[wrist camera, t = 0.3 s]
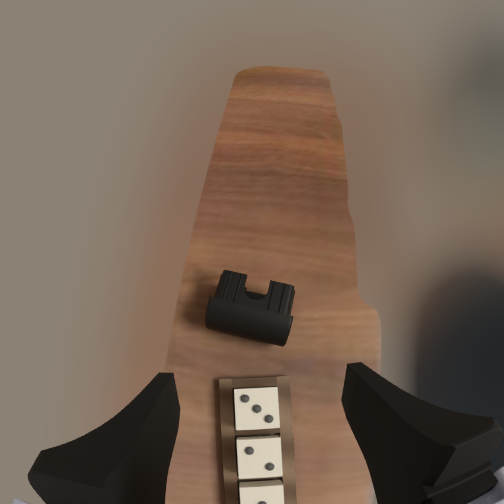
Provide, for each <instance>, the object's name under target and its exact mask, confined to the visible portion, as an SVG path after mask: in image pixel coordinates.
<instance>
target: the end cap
mask: <svg viewBox="0 0 504 504" xmlns="http://www.w3.org/2000/svg"><path fill="white" fill-rule="evenodd" d="M246 279H247V275H245V274H241V273H237V272H233V271H228V270H224V271H223V274H221V277H220V280H219V284H218V287H217V290H216V294H215V297H210V299H209V302H208V306H207V311H206V318H205V325H206V327H207V328H208V329H212V330H215V331H219V332H223V333H227V334H231V335H235V336H239V337H243V338H248V339H252V340H256V341H260V342H265V343H269V344H274V345H278V346H284V345H285V344H286V342H287V339H288V336H289V332H290V329H291V325H292V320H293V316H291V315H290V314H291V309H292V304H293V299H294V294H295V291H294V286H292V285H289V284H285V283H280V282H276V281H272V280H270V285H269V289H268V292H267V294H266V295H263V294H259V293H254V292H250V291H246V290H247V288H245V287H244V286H245V283H246Z"/></svg>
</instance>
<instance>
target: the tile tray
mask: <svg viewBox="0 0 504 504" xmlns="http://www.w3.org/2000/svg"><path fill="white" fill-rule="evenodd" d="M269 387H277V388H278V403H279V419H280V428H271V429H255V430H236V418H235V397H234V389H250V388H269ZM219 392H220V416H221V438H222V456H223V473H224V488H225V502H226V504H240V489H239V485H240V482H252V481H268V480H281V482H282V484H283V490H284V504H297V500H296V479H295V460H294V442H293V426H292V410H291V395H290V381H289V376H279V377H263V378H241V379H219ZM272 435H278V436H279V437H281V453H282V471H283V476H278V477H266V478H248V479H239V473H238V456H237V437H257V436H272Z"/></svg>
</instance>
